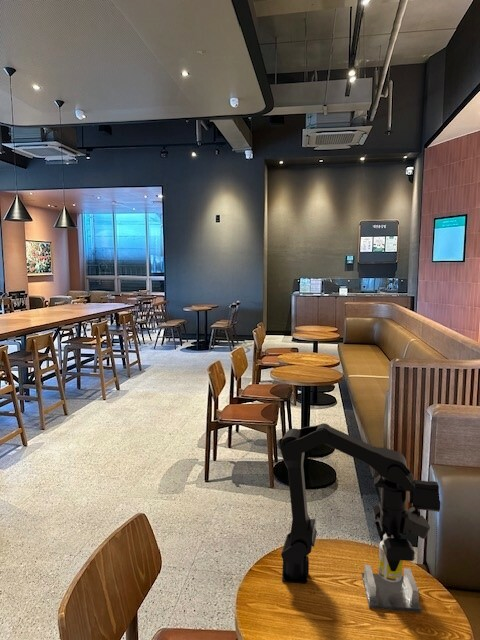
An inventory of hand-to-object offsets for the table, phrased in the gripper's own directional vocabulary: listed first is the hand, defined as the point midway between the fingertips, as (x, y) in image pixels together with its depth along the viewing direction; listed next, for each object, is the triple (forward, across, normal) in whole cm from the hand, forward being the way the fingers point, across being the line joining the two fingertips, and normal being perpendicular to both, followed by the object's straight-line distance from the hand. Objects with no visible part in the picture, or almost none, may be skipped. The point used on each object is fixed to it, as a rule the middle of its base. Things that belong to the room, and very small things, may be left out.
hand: (390, 562), depth 107 cm
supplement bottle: (+4, 0, 0) cm, 4 cm away
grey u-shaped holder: (+8, 0, 0) cm, 8 cm away
